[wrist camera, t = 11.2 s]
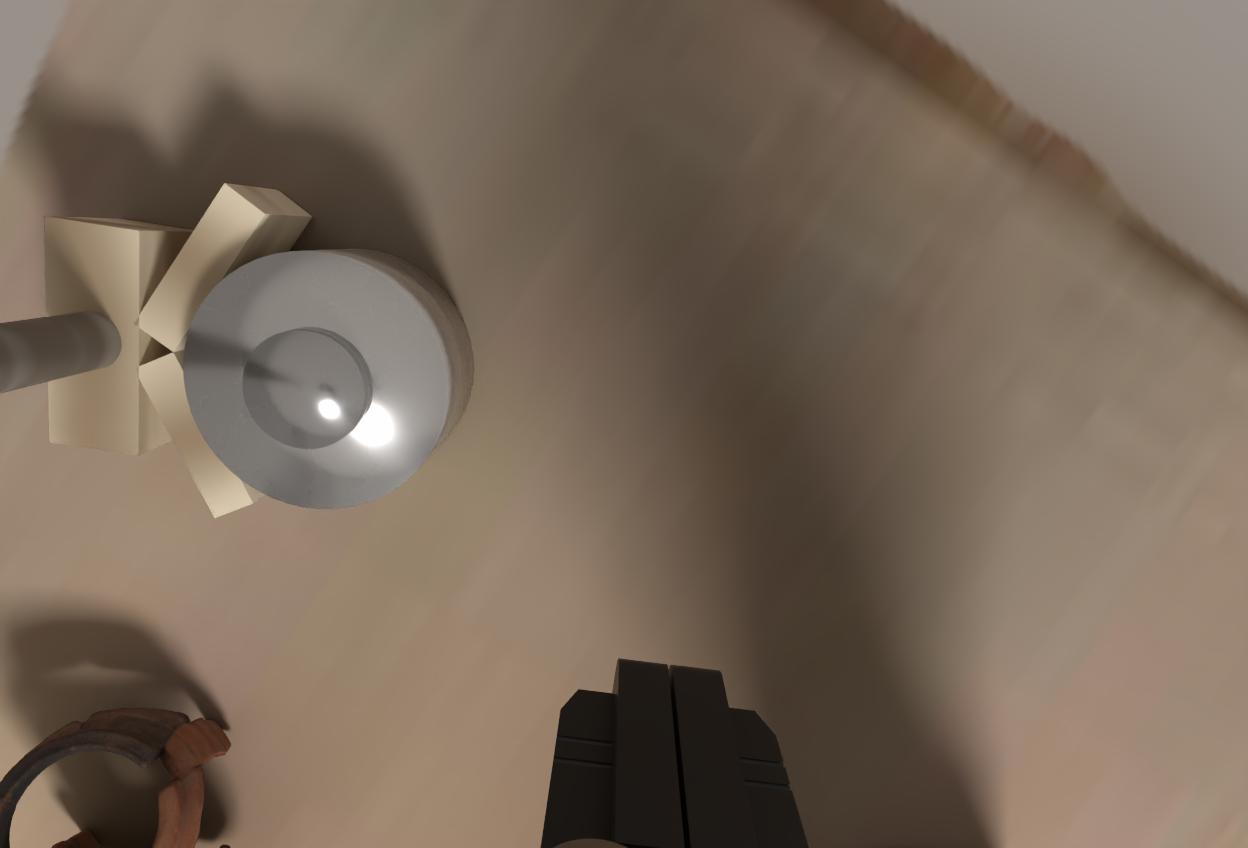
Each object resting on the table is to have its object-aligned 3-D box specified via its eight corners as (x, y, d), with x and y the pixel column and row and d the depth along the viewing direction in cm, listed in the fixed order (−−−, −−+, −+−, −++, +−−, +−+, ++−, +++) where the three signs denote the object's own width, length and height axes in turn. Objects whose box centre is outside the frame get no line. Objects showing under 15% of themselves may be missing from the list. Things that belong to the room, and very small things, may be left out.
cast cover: (488, 270, 31) (455, 279, 25) (459, 485, 33) (422, 539, 27) (260, 229, 30) (171, 227, 24) (245, 447, 32) (160, 494, 26)
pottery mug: (27, 804, 37) (-109, 846, 29) (191, 653, 40) (107, 654, 32) (195, 994, 36) (101, 1091, 28) (353, 824, 38) (307, 869, 31)
